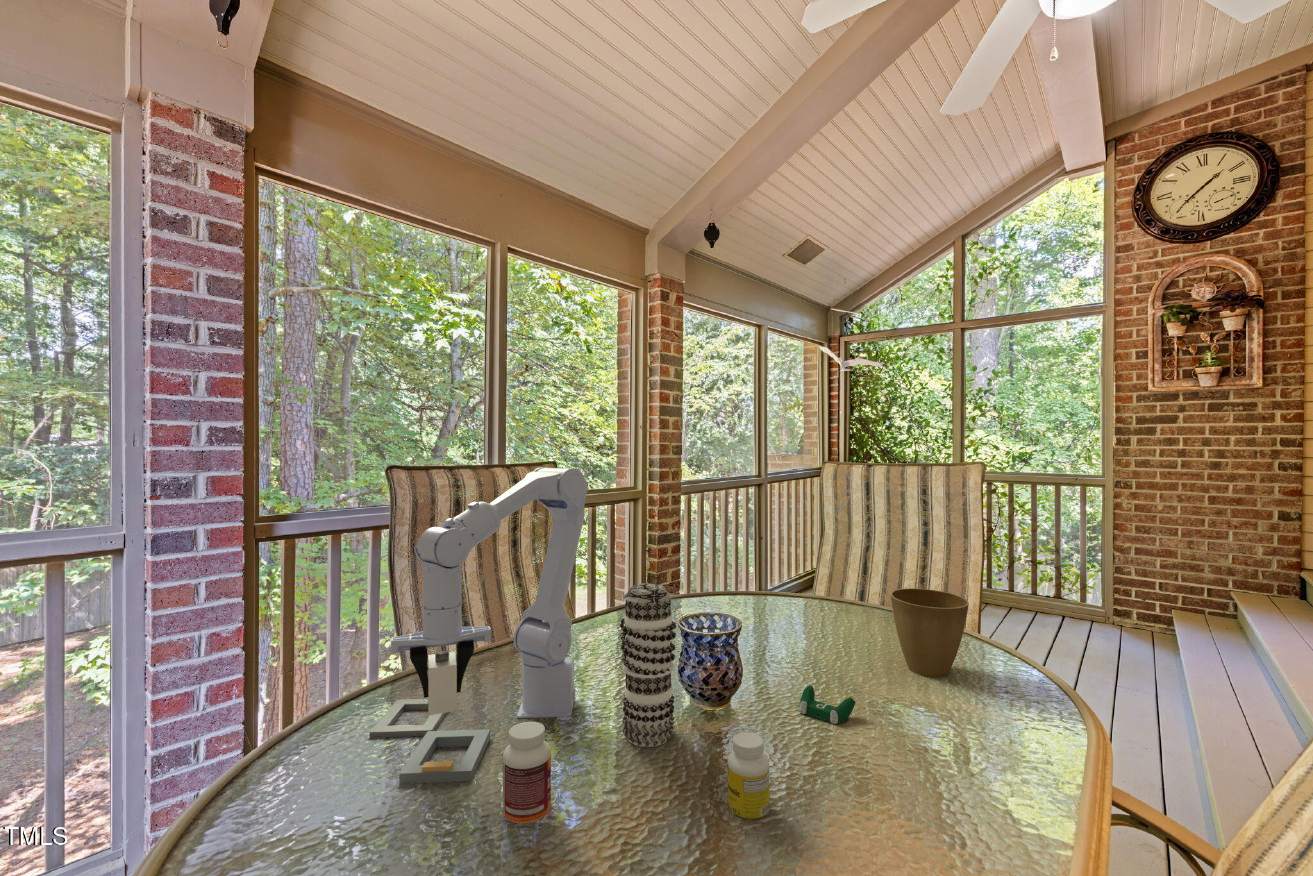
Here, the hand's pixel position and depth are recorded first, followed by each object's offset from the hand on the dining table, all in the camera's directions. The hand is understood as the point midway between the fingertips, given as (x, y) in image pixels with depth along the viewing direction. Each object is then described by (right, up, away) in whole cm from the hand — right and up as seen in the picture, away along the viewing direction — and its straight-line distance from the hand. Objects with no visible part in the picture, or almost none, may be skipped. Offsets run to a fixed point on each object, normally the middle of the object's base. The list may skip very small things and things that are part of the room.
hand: (442, 692), depth 90 cm
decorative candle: (+32, -10, +5) cm, 34 cm away
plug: (0, -2, 0) cm, 2 cm away
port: (+2, -10, -2) cm, 10 cm away
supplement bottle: (+45, -10, -14) cm, 49 cm away
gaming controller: (+65, -8, +15) cm, 67 cm away
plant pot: (+91, -10, +32) cm, 97 cm away
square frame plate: (-9, -10, +11) cm, 18 cm away
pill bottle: (+16, -10, -14) cm, 24 cm away
